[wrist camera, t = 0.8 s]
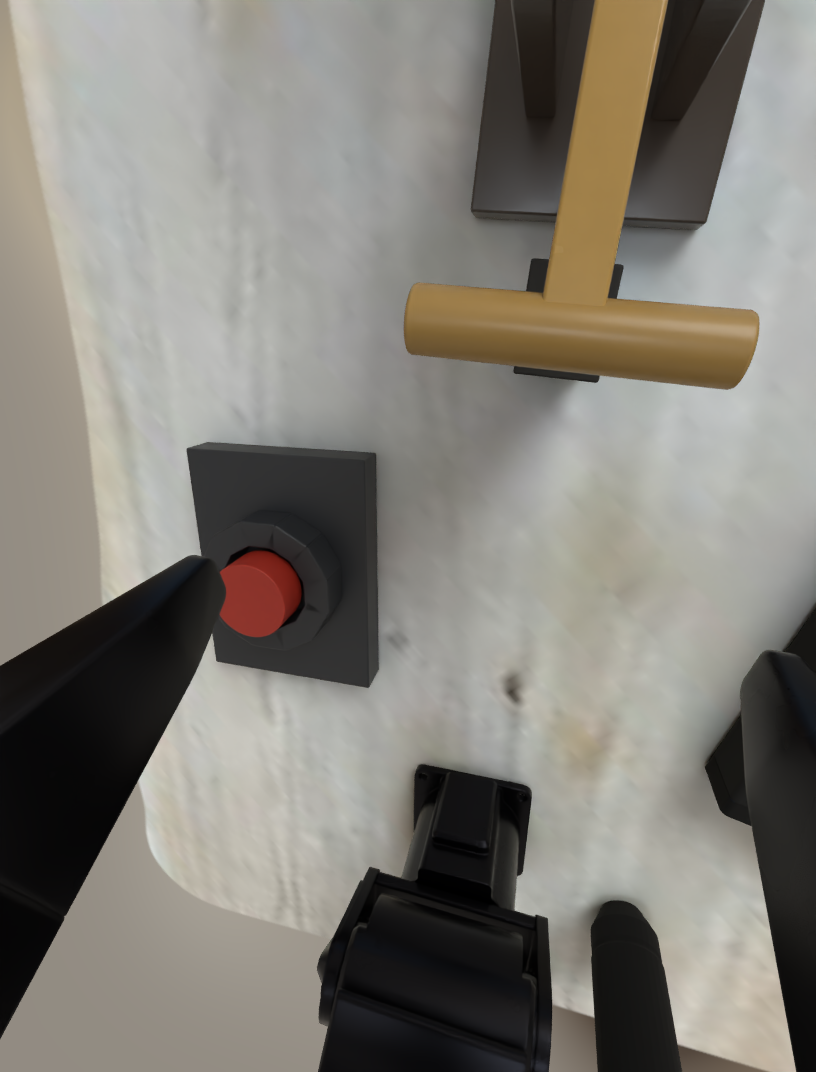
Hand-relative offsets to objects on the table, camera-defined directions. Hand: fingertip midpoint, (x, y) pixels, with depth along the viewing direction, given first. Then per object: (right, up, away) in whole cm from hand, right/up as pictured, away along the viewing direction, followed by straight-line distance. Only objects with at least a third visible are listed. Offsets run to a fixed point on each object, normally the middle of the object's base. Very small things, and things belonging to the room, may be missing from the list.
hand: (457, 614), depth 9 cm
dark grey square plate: (-7, 0, +19) cm, 20 cm away
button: (-7, -1, +16) cm, 18 cm away
